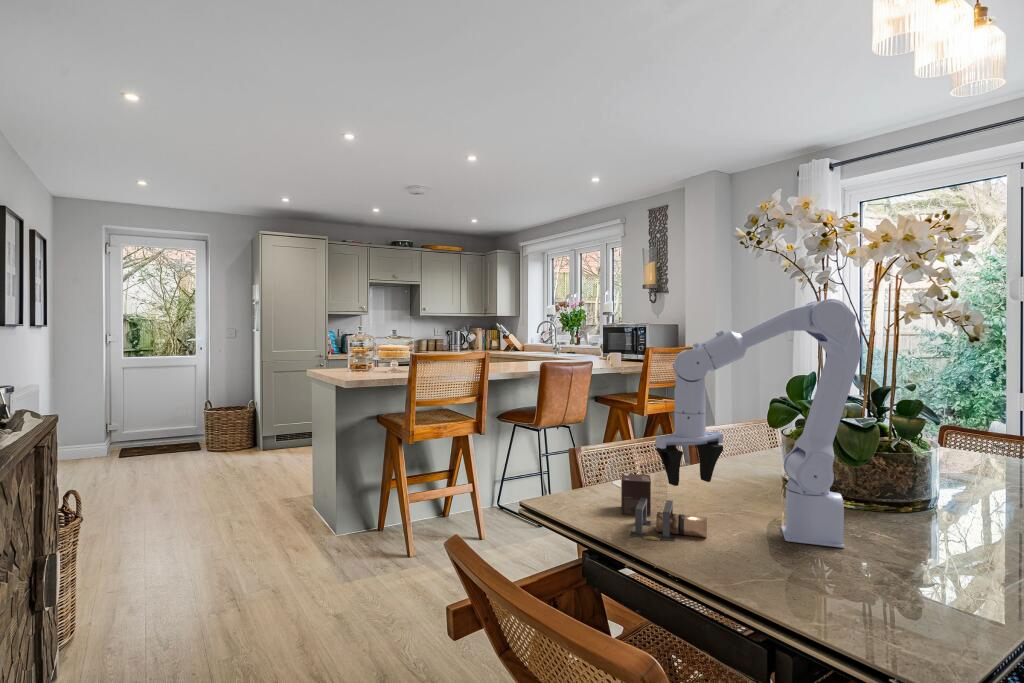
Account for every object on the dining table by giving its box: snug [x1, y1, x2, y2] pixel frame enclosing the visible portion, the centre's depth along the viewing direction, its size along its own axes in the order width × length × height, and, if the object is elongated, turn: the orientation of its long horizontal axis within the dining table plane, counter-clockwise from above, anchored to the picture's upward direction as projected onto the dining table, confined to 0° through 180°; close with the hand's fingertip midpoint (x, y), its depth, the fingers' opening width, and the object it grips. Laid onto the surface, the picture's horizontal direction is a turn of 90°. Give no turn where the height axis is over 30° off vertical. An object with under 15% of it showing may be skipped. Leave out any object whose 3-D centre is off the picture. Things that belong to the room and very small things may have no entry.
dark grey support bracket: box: [656, 499, 676, 542], centre depth 111 cm, size 3×9×5 cm, turn 160°
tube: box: [655, 511, 708, 538], centre depth 110 cm, size 9×4×4 cm, turn 70°
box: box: [620, 473, 652, 517], centre depth 124 cm, size 6×6×7 cm
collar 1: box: [629, 498, 653, 538], centre depth 113 cm, size 3×9×5 cm, turn 161°
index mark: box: [642, 535, 661, 542], centre depth 107 cm, size 3×1×1 cm, turn 71°
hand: (689, 482), depth 112 cm, fingers open, 7 cm apart
